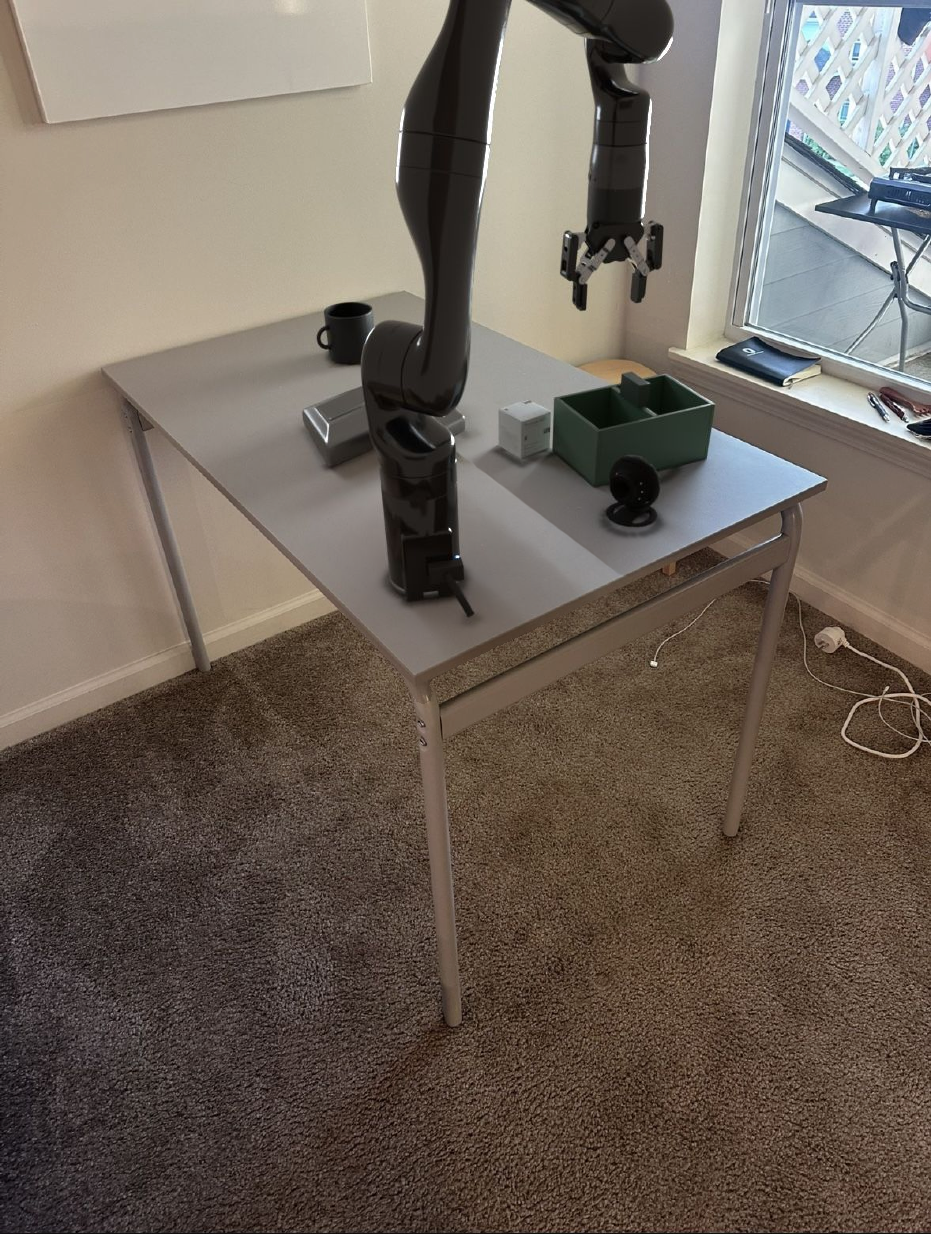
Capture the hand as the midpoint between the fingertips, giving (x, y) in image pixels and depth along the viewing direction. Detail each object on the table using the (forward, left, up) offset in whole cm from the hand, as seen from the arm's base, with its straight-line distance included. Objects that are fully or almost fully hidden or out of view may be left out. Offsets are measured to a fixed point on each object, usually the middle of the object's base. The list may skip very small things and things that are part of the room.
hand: (608, 305), depth 126 cm
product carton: (+5, +11, -24) cm, 27 cm away
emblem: (+18, +32, -24) cm, 44 cm away
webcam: (-18, +1, -24) cm, 31 cm away
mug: (+53, +35, -24) cm, 68 cm away
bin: (-2, -4, -23) cm, 23 cm away
